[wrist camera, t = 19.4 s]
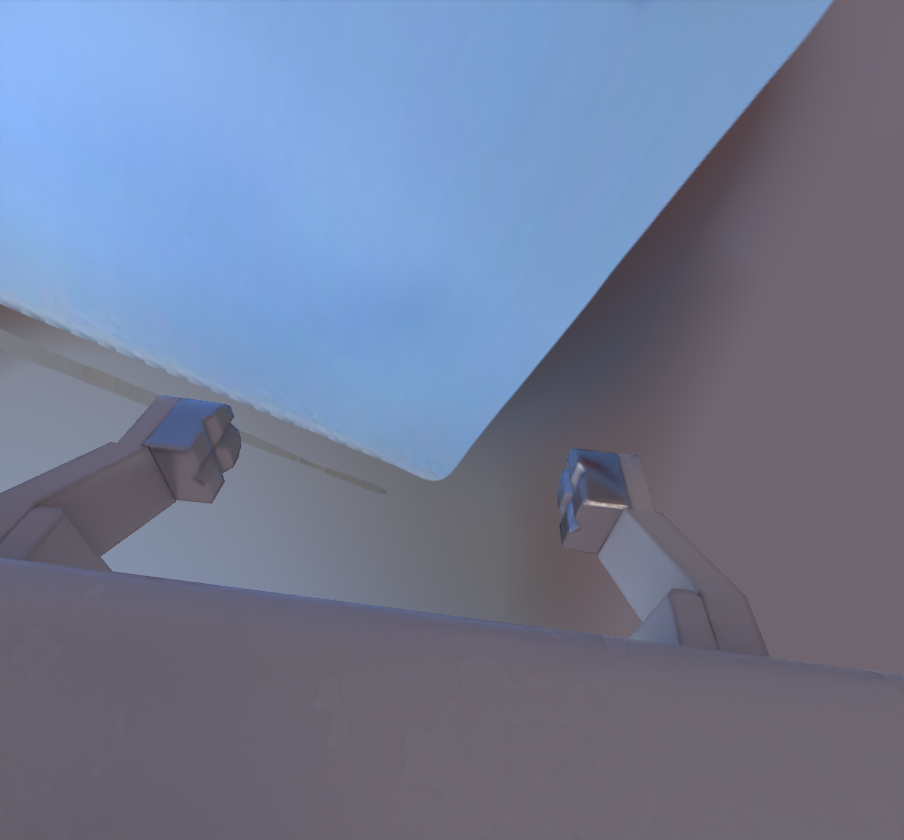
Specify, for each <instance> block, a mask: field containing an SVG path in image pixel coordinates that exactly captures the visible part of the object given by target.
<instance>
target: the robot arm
mask: <svg viewBox="0 0 904 840" xmlns="http://www.w3.org/2000/svg"><path fill="white" fill-rule="evenodd" d="M233 418H234V415H233V412H232V409H231V407H230V406H228V405H226V404H222V403H215V402H208V401H202V400H195V399H189V398H179V397H172V396H166V395H163V396H161V397H158V398H157V399H156V400H155V401H154V402H153V403H152V404H151V405H150V406H149V407H148V409H147V410H146V411H145V412H144V413H143V414H142V415H141V417H140V418H139V419H138V420H137V421H136V422H135V423H134V425H133V426H132V427H131V428H130V429H129V430H128V431H127V432H126V434H125V435H124V436H123V437H122V438H121V439H120V440H119V442H118V443H114V442H110V443H108V444H105V445H103V446H101V447H99V448H97V449H95V450H93V451H91V452H88V453H86V454H84V455H82V456H80V457H77V458H75V459H73V460H71V461H69V462H67V463H65V464H62V465H60V466H58V467H56V468H54V469H52V470H49V471H47V472H45V473H43V474H41V475H39V476H37V477H34V478H32V479H30V480H28V481H26V482H24V483H21V484H19V485H17V486H15V487H13V488H11V489H8V490H6V491H4V492H3V493H0V840H904V675H903V674H896V673H888V672H881V671H873V670H865V669H857V668H850V667H842V666H834V665H827V664H819V663H811V662H803V661H795V660H788V659H780V658H773V657H770V656H769V653H768V651H767V649H766V646H765V643H764V640H763V638H762V635H761V633H760V630H759V628H758V625H757V623H756V620H755V617H754V615H753V612H752V610H751V607H750V605H749V602H748V600H747V597H746V595H744V594H743V592H742V591H740V590H739V589H738V588H737V587H736V586H735V585H734V584H733V583H732V582H731V581H730V580H729V579H728V578H727V577H726V576H725V575H724V574H723V573H722V572H721V571H720V570H719V569H718V568H717V567H716V566H715V565H714V564H713V563H712V562H711V561H710V560H709V559H708V558H707V557H706V556H705V555H704V554H703V553H702V552H701V551H700V550H699V549H698V548H697V547H696V546H695V545H694V544H693V543H692V542H691V541H690V540H689V539H688V538H687V537H686V536H685V535H684V534H683V533H682V532H681V531H680V530H679V529H678V528H677V527H676V526H675V525H674V524H673V523H672V522H671V521H670V520H669V519H668V518H667V517H666V516H665V515H664V514H663V513H660V512H656V511H655V507H654V504H653V501H652V497H651V494H650V490H649V487H648V484H647V480H646V476H645V473H644V470H643V466H642V463H641V459H640V458H639V457H638V456H637V455H628V454H620V453H611V452H603V451H594V450H586V449H577V448H573V449H572V450H571V451H570V454H569V456H568V459H567V460H568V468H567V469H566V470H564V471H563V472H562V475H561V478H560V481H559V486H558V498H557V500H558V509H559V511H560V512H561V513H562V514H563V518H562V520H561V523H560V533H561V543H562V549H567V550H573V551H579V552H586V553H593V554H598V557H599V559H600V560H601V562H602V563H603V565H604V566H605V568H606V569H607V571H608V572H609V574H610V575H611V577H612V578H613V579H614V581H615V583H616V584H617V585H618V587H619V588H620V590H621V591H622V593H623V594H624V596H625V597H626V599H627V600H628V602H629V603H630V605H631V606H632V607H633V609H634V610H635V612H636V613H637V615H638V616H639V618H640V619H641V621H642V622H643V623H642V624H641V625H640V626H639V628H638V629H637V630H636V631H635V632H634V633H633V635H632V636H631V637H630V638H629V639H626V638H619V637H612V636H604V635H597V634H589V633H581V632H574V631H566V630H558V629H550V628H543V627H535V626H527V625H519V624H512V623H505V622H497V621H488V620H481V619H474V618H466V617H459V616H450V615H443V614H436V613H428V612H420V611H412V610H404V609H397V608H390V607H382V606H374V605H366V604H359V603H351V602H343V601H336V600H328V599H320V598H312V597H305V596H297V595H289V594H282V593H274V592H266V591H258V590H251V589H243V588H235V587H228V586H220V585H212V584H205V583H196V582H190V581H182V580H174V579H167V578H159V577H151V576H143V575H136V574H128V573H121V572H113V571H111V569H110V568H109V567H108V565H107V564H106V563H105V562H104V561H103V559H102V558H101V557H100V556H102V555H103V554H105V553H106V552H107V551H109V550H110V549H111V548H113V547H114V546H116V545H117V544H118V543H120V542H121V541H123V540H124V539H125V538H127V537H128V536H129V535H131V534H132V533H133V532H135V531H136V530H138V529H139V528H140V527H142V526H143V525H145V524H146V523H147V522H149V521H150V520H151V519H153V518H154V517H156V516H157V515H158V514H160V513H161V512H162V511H164V510H165V509H167V508H168V507H169V506H171V505H172V504H173V503H175V502H176V501H175V500H182V501H191V502H201V503H212V502H213V501H214V499H215V497H216V495H217V494H218V492H219V490H220V488H221V487H222V485H223V484H224V482H225V481H224V477H223V473H224V472H226V471H228V470H229V469H231V468H233V467H234V465H235V463H236V461H237V459H238V457H239V453H240V449H241V437H240V434H239V430H238V429H237V428H235V427H234V426H233V425H232V424H231V423H230V422H231V421H232V419H233Z"/></svg>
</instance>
